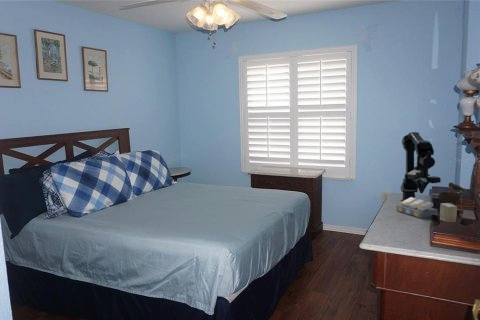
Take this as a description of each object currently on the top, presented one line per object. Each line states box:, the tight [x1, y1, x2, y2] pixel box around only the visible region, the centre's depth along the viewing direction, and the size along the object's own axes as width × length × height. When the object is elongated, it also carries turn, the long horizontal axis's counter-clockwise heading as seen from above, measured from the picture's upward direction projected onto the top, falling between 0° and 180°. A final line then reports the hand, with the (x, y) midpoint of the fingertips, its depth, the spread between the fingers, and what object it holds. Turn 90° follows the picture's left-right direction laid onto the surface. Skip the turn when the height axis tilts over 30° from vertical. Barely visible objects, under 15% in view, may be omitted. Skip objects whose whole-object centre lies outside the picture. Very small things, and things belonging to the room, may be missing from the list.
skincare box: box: [439, 203, 458, 222], centre depth 167 cm, size 6×4×12 cm
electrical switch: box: [430, 193, 447, 212], centre depth 200 cm, size 9×5×9 cm, turn 57°
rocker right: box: [417, 201, 434, 211], centre depth 191 cm, size 4×8×2 cm, turn 112°
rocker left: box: [400, 197, 417, 206], centre depth 201 cm, size 4×8×2 cm, turn 112°
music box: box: [431, 182, 468, 218], centre depth 179 cm, size 15×11×20 cm
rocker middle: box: [409, 198, 426, 209], centre depth 196 cm, size 4×8×2 cm, turn 112°
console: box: [396, 204, 438, 219], centre depth 196 cm, size 16×12×4 cm
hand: (421, 193), depth 196 cm, fingers closed
